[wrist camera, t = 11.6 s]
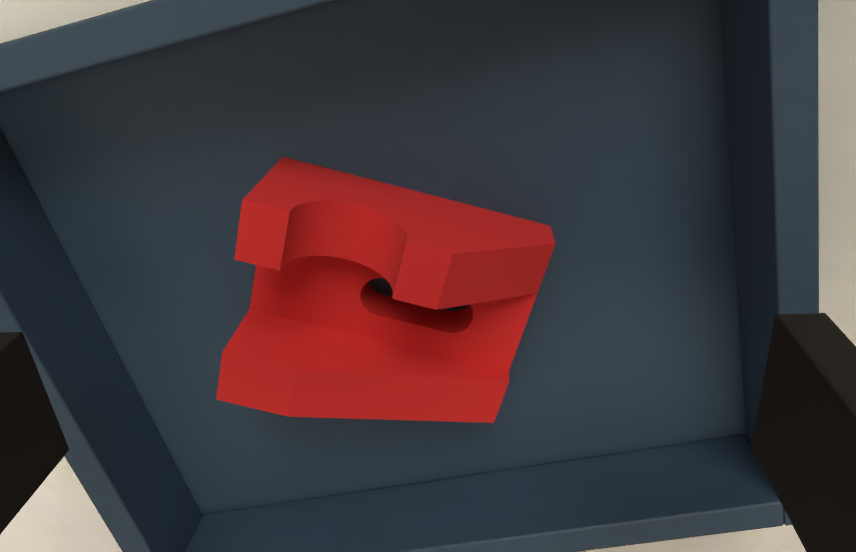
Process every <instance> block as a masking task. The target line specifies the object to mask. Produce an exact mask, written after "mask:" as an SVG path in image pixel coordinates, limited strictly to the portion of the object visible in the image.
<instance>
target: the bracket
mask: <svg viewBox="0 0 856 552" xmlns="http://www.w3.org/2000/svg"><path fill="white" fill-rule="evenodd" d="M555 244H556V243H555V240H554V236H553V232H552V229H551V226H550V225H546V224H542V223H538V222H534V221H531V220H527V219H523V218H519V217H515V216H511V215H507V214H503V213H500V212H496V211H492V210H488V209H484V208H480V207H476V206H472V205H469V204H465V203H461V202H457V201H453V200H449V199H445V198H441V197H438V196H434V195H430V194H426V193H422V192H418V191H414V190H410V189H407V188H403V187H399V186H395V185H391V184H387V183H383V182H379V181H376V180H372V179H368V178H364V177H360V176H356V175H352V174H348V173H345V172H341V171H337V170H333V169H329V168H325V167H321V166H317V165H314V164H310V163H306V162H302V161H298V160H294V159H290V158H286V157H282V158H281V159H280V160H279V161H278V162H277V163H276V164H275V166H274V167H273V168H272V169H271V170H270V171H269V172H268V173H267V174H266V175H265V176H264V177H263V178H262V179H261V180H260V182H259V183H258V184H257V185H256V186H255V187H254V188H253V189H252V190H251V191H250V192H249V193H248V194H247V195H246V196H245V198H244V199H243V200H242V205H241V213H240V221H239V228H238V236H237V244H236V251H235V260H239V261H243V262H247V263H251V264H255V265H256V269H255V276H254V283H253V290H252V297H251V303H250V309H249V311H248V312H247V314H246V315H245V317H244V319H243V320H242V322H241V323H240V325H239V326H238V328H237V330H236V331H235V333H234V334H233V336H232V338H231V339H230V341H229V342H228V344H227V346H226V347H225V349H224V350H223V352H222V359H221V367H220V374H219V382H218V390H217V397H216V400H220V401H225V402H229V403H233V404H237V405H242V406H246V407H250V408H254V409H258V410H263V411H267V412H271V413H275V414H279V415H284V416H288V417H318V418H351V419H385V420H418V421H452V422H485V423H494V421H495V419H496V416H497V413H498V411H499V408H500V405H501V402H502V400H503V397H504V394H505V392H506V389H507V386H508V383H509V370H510V367H511V364H512V361H513V359H514V356H515V353H516V350H517V348H518V345H519V342H520V340H521V337H522V334H523V331H524V329H525V326H526V323H527V320H528V318H529V315H530V312H531V309H532V307H533V304H534V301H535V299H536V296H537V293H538V290H539V288H540V285H541V282H542V279H543V277H544V274H545V271H546V268H547V266H548V263H549V260H550V258H551V255H552V252H553V249H554V247H555ZM376 278H385V279H386V280H387V281H388V282H389V284H390V286H391V288H392V291H393V296H388V295H384V294H380V293H378V292H376V291H375V290H374V289H372V288H371V286H370V285H369V283H368V281H370V280H372V279H376ZM463 305H468V306H467V307H466V308H464V309H462V310H459V311H448V310H444V309H445V308H451V307H457V306H463Z"/></svg>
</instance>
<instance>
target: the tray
mask: <svg viewBox="0 0 856 552" xmlns="http://www.w3.org/2000/svg"><path fill="white" fill-rule="evenodd" d="M282 157H286V158H290V159H294V160H298V161H302V162H306V163H310V164H314V165H317V166H321V167H325V168H329V169H333V170H337V171H341V172H345V173H348V174H352V175H356V176H360V177H364V178H368V179H372V180H376V181H379V182H383V183H387V184H391V185H395V186H399V187H403V188H407V189H410V190H414V191H418V192H422V193H426V194H430V195H434V196H438V197H441V198H445V199H449V200H453V201H457V202H461V203H465V204H469V205H472V206H476V207H480V208H484V209H488V210H492V211H496V212H500V213H503V214H507V215H511V216H515V217H519V218H523V219H527V220H531V221H534V222H538V223H542V224H546V225H550V226H551V229H552V232H553V236H554V240H555V243H556V244H555V247H554V249H553V252H552V255H551V258H550V260H549V263H548V266H547V268H546V271H545V274H544V277H543V279H542V282H541V285H540V288H539V290H538V293H537V296H536V299H535V301H534V304H533V307H532V309H531V312H530V315H529V318H528V320H527V323H526V326H525V329H524V331H523V334H522V337H521V340H520V342H519V345H518V348H517V350H516V353H515V356H514V359H513V361H512V364H511V367H510V370H509V383H508V386H507V389H506V392H505V394H504V397H503V400H502V402H501V405H500V408H499V411H498V413H497V416H496V419H495V421H494V423H485V422H452V421H418V420H385V419H351V418H318V417H288V416H284V415H279V414H275V413H271V412H267V411H263V410H258V409H254V408H250V407H246V406H242V405H237V404H233V403H229V402H225V401H220V400H216V397H217V390H218V382H219V374H220V367H221V359H222V352H223V350H224V349H225V347H226V346H227V344H228V342H229V341H230V339H231V338H232V336H233V334H234V333H235V331H236V330H237V328H238V326H239V325H240V323H241V322H242V320H243V319H244V317H245V315H246V314H247V312H248V311H249V309H250V303H251V297H252V290H253V283H254V276H255V269H256V265H255V264H251V263H247V262H243V261H239V260H235V251H236V244H237V236H238V228H239V221H240V213H241V205H242V200H243V199H244V198H245V196H246V195H247V194H248V193H249V192H250V191H251V190H252V189H253V188H254V187H255V186H256V185H257V184H258V183H259V182H260V180H261V179H262V178H263V177H264V176H265V175H266V174H267V173H268V172H269V171H270V170H271V169H272V168H273V167H274V166H275V164H276V163H277V162H278V161H279V160H280V159H281V158H282ZM368 283H369V285H370V286H371V288H372V289H374V290H375V291H376V292H378V293H380V294H384V295H388V296H393V291H392V288H391V286H390V284H389V282H388V281H387V280H386V279H385V278H376V279H372V280H370V281H368ZM467 306H468V305H463V306H457V307H451V308H445V309H444V310H448V311H459V310H462V309H464V308H466V307H467ZM813 313H819V221H818V0H151V1H148V2H144V3H141V4H137V5H134V6H131V7H127V8H124V9H120V10H117V11H113V12H110V13H106V14H103V15H99V16H96V17H92V18H89V19H85V20H82V21H78V22H75V23H71V24H68V25H64V26H61V27H57V28H54V29H50V30H47V31H43V32H40V33H36V34H33V35H29V36H26V37H22V38H19V39H15V40H12V41H8V42H5V43H2V44H0V332H23V334H24V337H25V339H26V342H27V344H28V347H29V349H30V352H31V354H32V357H33V359H34V362H35V364H36V367H37V369H38V372H39V374H40V377H41V379H42V382H43V384H44V387H45V389H46V392H47V394H48V397H49V400H50V402H51V405H52V407H53V410H54V412H55V415H56V417H57V420H58V422H59V425H60V427H61V430H62V432H63V435H64V437H65V440H66V442H67V445H68V447H69V451H68V452H67V453H66V454H65V455H64V456H65V458H66V459H67V461H68V463H69V464H70V466H71V468H72V469H73V471H74V472H75V474H76V476H77V477H78V479H79V481H80V482H81V484H82V486H83V487H84V489H85V491H86V492H87V494H88V496H89V497H90V499H91V500H92V502H93V504H94V505H95V507H96V509H97V510H98V512H99V514H100V515H101V517H102V519H103V520H104V522H105V523H106V525H107V527H108V528H109V530H110V532H111V533H112V535H113V537H114V538H115V540H116V542H117V543H118V545H119V546H120V548H121V550H122V551H123V552H578V551H586V550H594V549H602V548H610V547H618V546H626V545H634V544H641V543H649V542H657V541H665V540H673V539H681V538H689V537H697V536H705V535H713V534H721V533H729V532H736V531H744V530H752V529H760V528H768V527H776V526H782V525H783V524H785V525H792V523H791V521H790V519H789V517H788V515H787V514H786V512H785V510H784V508H783V506H782V504H781V502H780V500H779V498H778V496H777V495H776V493H775V491H774V489H773V487H772V485H771V483H770V481H769V479H768V477H767V476H766V474H765V472H764V470H763V468H762V466H761V464H760V462H759V460H758V458H757V457H756V455H755V453H754V451H753V449H752V447H751V445H752V439H753V434H754V429H755V423H756V418H757V412H758V407H759V401H760V396H761V391H762V385H763V380H764V374H765V369H766V363H767V358H768V353H769V347H770V342H771V336H772V331H773V325H774V320H775V315H776V314H813Z"/></svg>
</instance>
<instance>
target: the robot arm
mask: <svg viewBox="0 0 856 552" xmlns="http://www.w3.org/2000/svg"><path fill="white" fill-rule="evenodd" d="M751 447H752V449H753V451H754V453H755V455H756V457H757V458H758V460H759V462H760V464H761V466H762V468H763V470H764V472H765V474H766V476H767V477H768V479H769V481H770V483H771V485H772V487H773V489H774V491H775V493H776V495H777V496H778V498H779V500H780V502H781V504H782V506H783V508H784V510H785V512H786V514H787V515H788V517H789V519H790V521H791V523H792V525H793V527H794V529H795V531H796V533H797V535H798V536H799V538H800V540H801V542H802V544H803V546H804V548H805V550H806V552H856V347H855V345H854V344H853V343H852V342H851V341H850V340H849V339H848V338H847V337H846V336H845V334H844V333H843V332H842V331H841V330H840V329H839V328H838V327H837V326H836V325H835V323H834V322H833V321H832V320H831V319H830V318H829V317H828V316H827V315H826V314H825V313H813V314H776V315H775V320H774V325H773V331H772V336H771V342H770V347H769V353H768V358H767V363H766V369H765V374H764V380H763V385H762V391H761V396H760V401H759V407H758V412H757V418H756V423H755V429H754V434H753V439H752V445H751ZM68 451H69V447H68V445H67V442H66V440H65V437H64V435H63V432H62V430H61V427H60V425H59V422H58V420H57V417H56V415H55V412H54V410H53V407H52V405H51V402H50V400H49V397H48V394H47V392H46V389H45V387H44V384H43V382H42V379H41V377H40V374H39V372H38V369H37V367H36V364H35V362H34V359H33V357H32V354H31V352H30V349H29V347H28V344H27V342H26V339H25V337H24V334H23V332H0V534H1V533H2V531H3V530H4V529H5V528H6V527H7V525H8V524H9V523H10V522H11V520H12V519H13V518H14V517H15V516H16V514H17V513H18V512H19V511H20V509H21V508H22V507H23V506H24V505H25V503H26V502H27V501H28V500H29V498H30V497H31V496H32V495H33V493H34V492H35V491H36V490H37V489H38V487H39V486H40V485H41V484H42V482H43V481H44V480H45V479H46V478H47V476H48V475H49V474H50V473H51V471H52V470H53V469H54V468H55V467H56V465H57V464H58V463H59V462H60V460H61V459H62V458H63V457H64V455H65V454H66V453H67V452H68Z"/></svg>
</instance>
